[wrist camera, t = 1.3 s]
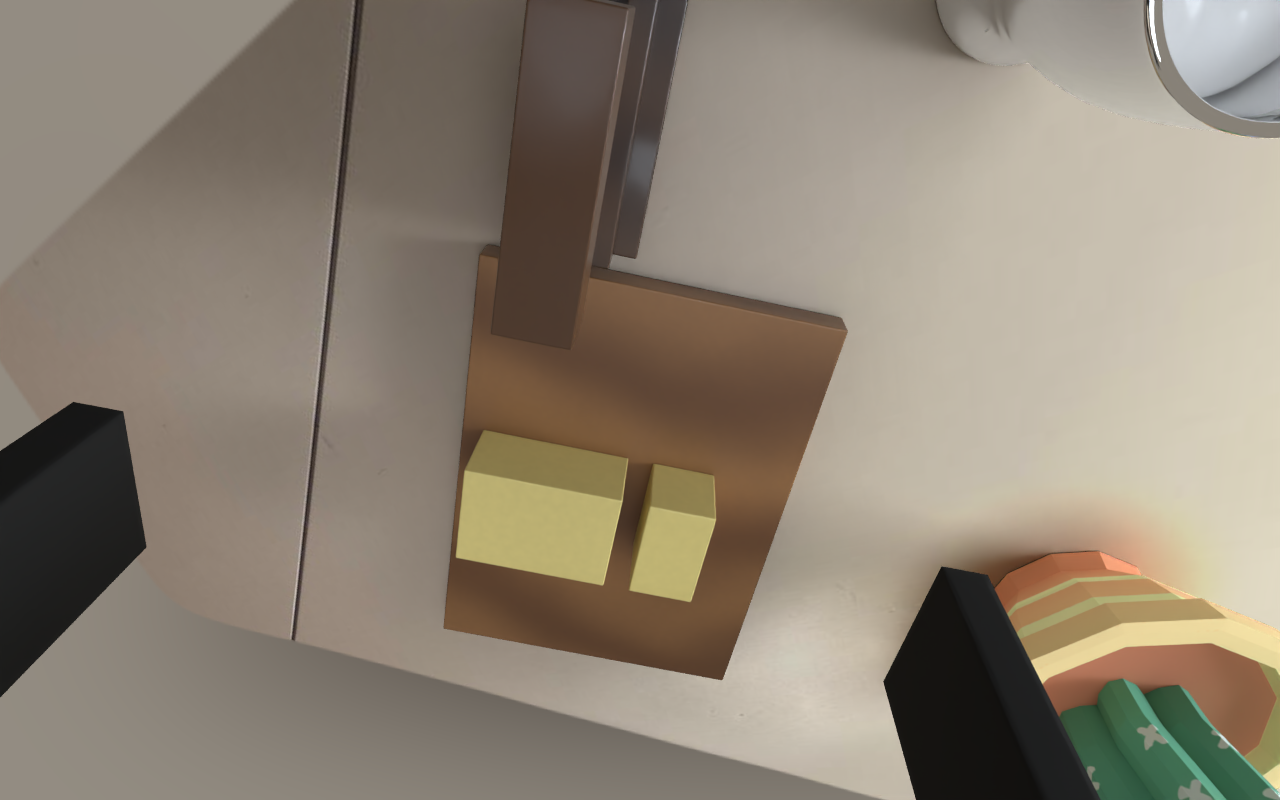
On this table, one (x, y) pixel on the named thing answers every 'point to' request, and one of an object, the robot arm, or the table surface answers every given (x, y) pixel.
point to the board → (648, 454)
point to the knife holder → (638, 126)
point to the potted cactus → (1151, 680)
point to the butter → (540, 507)
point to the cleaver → (558, 165)
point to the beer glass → (1140, 55)
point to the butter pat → (673, 533)
